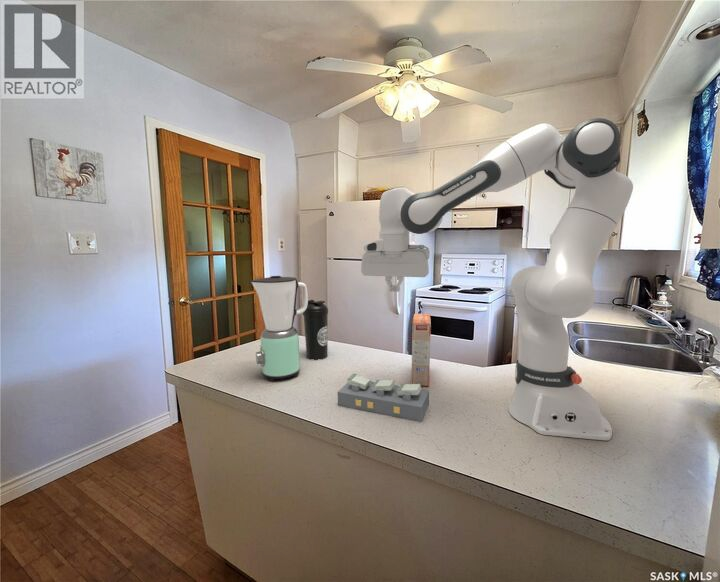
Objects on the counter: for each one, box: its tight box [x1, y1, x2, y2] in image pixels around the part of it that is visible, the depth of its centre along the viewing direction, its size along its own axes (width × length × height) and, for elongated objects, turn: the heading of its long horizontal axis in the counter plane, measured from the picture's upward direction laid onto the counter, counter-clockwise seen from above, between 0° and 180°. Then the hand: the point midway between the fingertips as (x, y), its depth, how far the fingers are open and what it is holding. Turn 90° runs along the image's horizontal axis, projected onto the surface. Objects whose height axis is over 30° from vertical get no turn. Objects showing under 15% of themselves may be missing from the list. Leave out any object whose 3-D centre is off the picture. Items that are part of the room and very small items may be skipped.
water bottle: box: [302, 299, 329, 361], centre depth 132 cm, size 10×10×23 cm
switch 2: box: [371, 379, 396, 391], centre depth 93 cm, size 6×4×2 cm
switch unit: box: [337, 380, 430, 423], centre depth 93 cm, size 24×10×6 cm, turn 67°
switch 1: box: [346, 373, 372, 389], centre depth 95 cm, size 6×4×2 cm
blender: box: [250, 275, 309, 383], centre depth 114 cm, size 19×13×35 cm
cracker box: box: [411, 313, 432, 387], centre depth 110 cm, size 14×6×21 cm, turn 168°
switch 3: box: [397, 383, 422, 395], centre depth 90 cm, size 6×4×2 cm
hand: (394, 291), depth 99 cm, fingers closed
